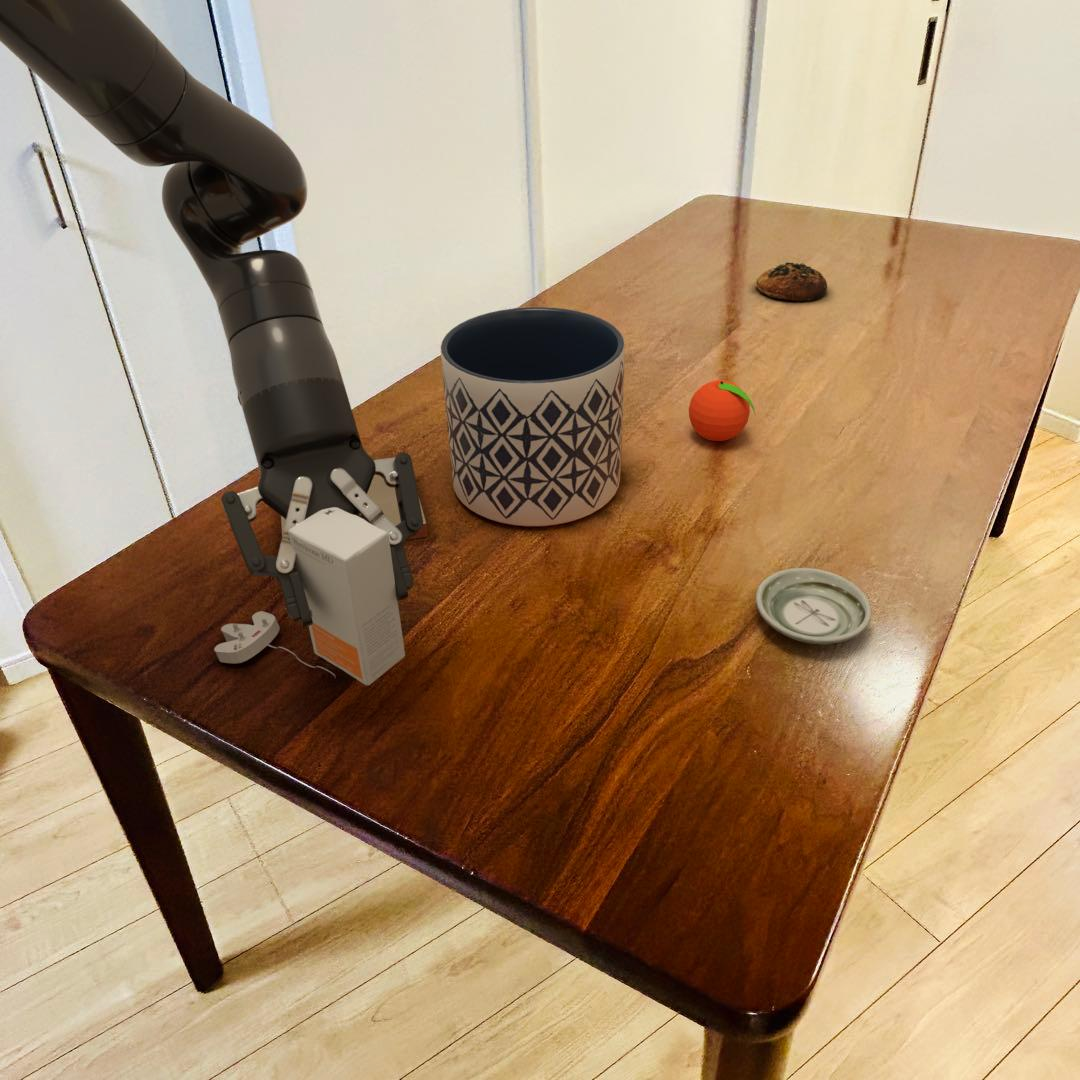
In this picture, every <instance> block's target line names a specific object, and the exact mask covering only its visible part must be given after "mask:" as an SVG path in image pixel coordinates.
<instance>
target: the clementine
mask: <svg viewBox="0 0 1080 1080" xmlns="http://www.w3.org/2000/svg"><path fill="white" fill-rule="evenodd" d="M751 408H752V411H753V413H754V415H756V411H755V406H754V404H753V402H752V399H751V398H750V397H749V395H748V394H747V393H746V392H745V391H744V390H743V388H741V387H740V386H738V385H737V384H735V383H733V382H731V381H729V380H725V379H717V380H712V381H708V382H707V383H704V384H703V385H701V386H700V387H699V388H698V389H697V390H696V391H695V392H694V393H693V395H692V396H691V398H690V402H689V406H688V419H689V421H690V422H689V423H690V424H691V427H692V428H693V430H695V432H696V433H697V434H698V435H699V436H701V437H703V438H704V439H707V440H708V441H712V442H724V441H728V440H731V439H733V438H735V437H737V436H738V435H739V434H740V433H742V431H743V430H744V429H745V427H746V426H747V424H748V421H749V418H750V414H751Z"/></svg>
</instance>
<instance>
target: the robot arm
mask: <svg viewBox="0 0 1080 1080" xmlns="http://www.w3.org/2000/svg"><path fill="white" fill-rule="evenodd" d="M0 43H1V44H2V45H4V46H5V47H6V48H7V49H8V50H9V51H10V52H11V53H12V54H14V56H16V57H17V58H18V59H19V60H20V61H21V62H22V63H24V65H25V66H27V67H28V68H29V70H31V71H32V72H33V73H34V74H35V75H36V76H37V77H38V78H40V79H41V81H42V82H44V83H45V84H46V85H47V86H48V87H49V88H50V89H51V90H52V91H54V93H56V94H57V96H59V97H60V98H61V99H62V100H63V101H64V102H65V103H67V104H68V105H69V106H70V107H71V108H72V109H73V110H74V111H75V112H76V113H77V114H78V115H80V116H81V117H82V118H83V119H84V120H85V121H87V123H89V124H90V125H91V126H92V127H93V128H94V129H95V130H96V131H97V132H99V133H100V134H101V135H102V136H103V137H104V138H105V139H107V140H108V141H109V142H110V144H112V145H113V146H114V147H115V148H116V149H118V150H119V151H120V152H121V153H123V155H125V156H126V157H127V158H129V159H130V160H131V161H133V162H135V163H136V164H139V165H142V166H144V167H150V168H151V167H152V168H155V167H156V168H161V167H166V166H170V165H172V166H171V167H170V168H169V169H168V170H167V172H166V173H165V176H164V178H163V182H162V187H161V202H162V208H163V211H164V213H165V216H166V218H167V219H168V222H169V223H170V225H171V227H172V229H173V230H174V232H175V233H176V234H177V236H178V238H179V239H180V241H181V243H182V244H183V245H184V247H185V248H186V250H187V252H188V253H189V255H190V256H191V258H192V259H193V261H194V264H195V265H196V267H197V269H198V270H199V272H200V274H201V276H202V278H203V279H204V281H205V283H206V285H207V286H208V288H209V290H210V292H211V294H212V296H213V298H214V300H215V303H216V306H217V312H218V315H219V317H220V320H221V324H222V327H223V332H224V335H225V338H226V342H227V346H228V350H229V355H230V361H231V369H232V377H233V380H234V384H235V387H236V391H237V401H238V403H239V405H240V406H241V409H242V412H243V417H244V419H245V423H246V427H247V430H248V434H249V437H250V440H251V445H252V448H253V451H254V455H255V458H256V462H257V465H258V469H259V474H260V475H259V480H258V483H257V486H255V487H252V488H249V489H246V490H243V491H239V492H236V491H234V490H228V491H225V492H224V493H222V496H221V504H222V507H223V511H224V514H225V516H226V518H227V521H228V523H229V526H230V529H231V531H232V534H233V536H234V540H235V542H236V543H237V547H238V548H239V551H240V554H241V556H242V558H243V559H242V560H243V561H244V564H245V566H246V568H247V570H248V573H249V574H250V575H251V576H252V577H272V578H274V579H275V580H277V582H278V585H279V587H280V590H281V591H280V592H281V594H282V598H283V601H284V603H285V608H286V612H287V616H288V617H289V618H290V620H291V621H292V623H293V622H297V621H300V625H301V628H303V629H304V628H306V627H309V626H310V625H312V624H313V621H312V617H311V613H310V609H309V606H308V602H307V599H306V595H305V592H304V588H303V585H302V581H301V578H300V574H299V572H297V570H296V567H295V559H296V554H297V553H296V552H295V550H294V549H293V548H292V546H291V543H290V538H289V534H288V530H289V529H291V528H292V527H294V526H295V525H297V524H298V523H300V522H302V521H304V520H305V519H307V518H308V517H310V516H312V515H313V514H315V513H317V512H318V511H320V510H323V509H327V508H332V507H337V508H340V509H342V510H344V511H346V512H348V513H350V514H353V515H356V516H358V517H360V518H362V519H364V520H366V521H367V522H368V523H370V524H372V525H374V526H376V527H378V528H380V529H382V530H384V531H386V532H388V535H389V542H390V550H391V557H392V564H393V572H394V579H395V586H396V593H397V600H398V602H399V601H404V600H406V599H407V598H408V597H409V592H408V591H409V590H411V589H412V588H413V587H414V586H413V585H414V578H413V574H412V570H411V567H410V564H409V560H408V557H407V554H406V550H405V542H406V541H409V540H408V539H409V538H411V537H413V536H415V535H416V534H417V533H418V531H419V530H420V529H421V527H422V526H423V518H422V513H421V507H420V503H421V501H420V502H419V499H420V496H419V493H418V487H417V481H416V476H415V470H414V467H413V460H412V457H411V455H410V454H409V453H408V452H405V451H402V452H399V453H397V454H396V455H395V457H386V458H377V459H374V458H373V457H372V456H370V455H369V453H368V452H367V451H366V449H365V448H364V446H363V444H362V440H361V437H360V433H359V430H358V427H357V423H356V420H355V416H354V414H353V409H352V406H351V403H350V399H349V397H348V393H347V390H346V386H345V383H344V379H343V376H342V372H341V369H340V366H339V362H338V358H337V355H336V354H335V350H334V348H333V346H332V344H331V341H330V339H329V337H328V335H327V333H326V330H325V327H324V323H323V320H322V317H321V314H320V310H319V306H318V303H317V300H316V296H315V293H314V291H313V287H312V283H311V280H310V277H309V274H308V272H307V270H306V267H305V266H304V264H303V262H302V261H301V260H300V259H299V258H298V257H297V256H295V255H294V254H292V253H290V252H288V251H284V250H280V249H279V250H278V249H260V250H252V251H245V252H243V250H242V247H243V245H245V244H247V243H249V242H251V241H253V240H255V239H257V238H259V237H261V236H263V235H266V234H267V233H269V232H271V231H273V230H275V229H277V228H280V227H282V226H284V225H286V224H288V223H290V222H292V221H293V220H294V219H296V218H297V217H298V216H299V215H300V214H302V212H303V210H304V208H305V206H306V203H307V200H308V181H307V177H306V174H305V171H304V168H303V166H302V164H301V162H300V160H299V158H298V157H297V155H296V154H295V152H294V151H293V150H292V148H291V147H290V146H289V145H288V144H287V143H286V142H285V141H284V139H282V137H281V136H280V135H278V134H277V133H276V132H275V131H274V130H273V129H271V128H270V127H268V126H267V125H266V124H265V123H263V122H262V121H260V120H259V119H258V118H255V117H254V116H253V115H252V114H249V113H248V112H246V111H244V109H241V108H240V107H238V106H237V105H236V104H233V103H232V102H231V101H229V100H227V99H226V98H225V97H223V96H221V95H220V94H219V93H218V92H216V91H215V90H213V89H211V88H210V87H208V86H206V85H205V84H203V83H202V82H201V81H199V80H198V79H196V78H195V77H194V76H193V75H192V74H191V73H190V72H189V71H188V70H187V69H186V68H185V67H184V65H183V64H182V63H181V62H180V61H179V59H178V58H177V57H175V55H173V53H172V52H171V51H170V50H169V48H167V47H166V46H165V44H163V42H162V41H161V40H160V39H159V37H157V36H156V35H155V33H154V32H153V31H152V30H151V29H150V28H149V27H148V26H147V25H146V24H145V23H144V22H143V21H142V19H140V18H139V16H137V14H136V13H134V11H133V10H132V9H130V7H129V6H128V5H127V4H125V2H123V0H0ZM374 475H379V476H381V477H382V478H383V479H384V482H385V484H386V485H387V486H389V487H392V488H393V487H395V492H396V498H397V503H398V509H399V514H400V520H401V523H399V524H398V525H396V526H395V525H394V524H393V523H392V522H391V521H390V520H389V519H388V518H387V517H386V516H385V515H384V514H383V511H382V510H381V509H380V507H379V506H378V505H377V504H376V503H375V502H374V501H373V500H372V499H371V498H370V497H369V496H368V495H367V493H368V490H369V488H370V485H371V482H372V480H373V477H374ZM418 496H419V497H418ZM261 502H263V503H264V504H265V505H267V506H268V507H269V508H270V509H272V510H273V511H274V512H276V513H277V514H279V516H280V517H281V516H282V517H283V518H285V519H286V522H285V527H284V531H283V535H282V534H281V541H280V544H279V548H278V553H277V556H274V555H273V556H272V555H264V554H263V551H262V549H261V546H260V544H259V541H258V539H257V536H256V534H255V532H254V529H253V527H252V524H251V522H254V521H255V520H256V519H257V517H258V510H257V508H258V507H257V506H258V505H259V504H260V503H261ZM365 505H366V506H365ZM360 514H361V515H360Z"/></svg>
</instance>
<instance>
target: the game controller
mask: <svg viewBox="0 0 1080 1080" xmlns="http://www.w3.org/2000/svg"><path fill="white" fill-rule="evenodd" d="M251 620H252V622H253V625H252V624H249V623H227V624H224V625H222V627H221V628H220V630H221V633H222V634H223V637H224V639H225V642H220V643H219V644H217V645H216V646H214V652H215V655H216V658H217V659H218V661H219V662H220V663H222V664H223V663H225V664H242V663H244V662H247V661H248V660H250V659H251V658H253V657H255V656H256V655H257V654H259V653H261V651H263V650H264V649H265V648H266V647H270V648H273V649H283V650H284V651H287V652H289V653H290V654H292V655H293V656H294V657H295V658H296V660H297V661H299V662H300V663H302V664H304V665H305V666H308V667H310V668H313V669H314V668H320V669H322V670H324V671H326V672H328V673H330V674H331V675H332V676H333V677H334V679H337V678H336V674H335V673H334V672H332V671H330V669H327V668H325V667H323V666H320V665H316V666H313V665H310V664H308V663H306V662H304V661H303V660H302V659H300V658H299V657H298V656H297V654H296V653H294V652H293V651H291V650H289V649H287V648H285V647H283V646H278V647H277V646H274V645H271V642H273V640H275V638H276V637H277V636H278V634H279V632H280V628H281V627H280V625H279V623H278V620H277V618H276V616H275V615H273V614H272V613H269V612H266V611H262V610H260V611H257V612H255V613H254V614H253V615H252V616H251Z"/></svg>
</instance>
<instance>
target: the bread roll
mask: <svg viewBox="0 0 1080 1080" xmlns="http://www.w3.org/2000/svg"><path fill="white" fill-rule="evenodd" d="M754 285H755V287H756V288H757V290H758V291H759V292H760V293H761V294H765V295H766V296H768V297H769V298H773V299H776V298H777V299H780V300H787V301H797V302H805V301H806V302H809V303H810V302H815V301H817V300H819V299H822V297H823V296H824V295H825V293H826V292H827V289H828V282H827V280H826V278H825V277H824V275H823V274H822V273H821V272H820V271H818V270H817V269H815V268H812V267H811V266H809V265H807V264H805V263H804V262H801V263H798V262H785V263H782V264H781V263H779V265H776V266H775V267H772V268H770V269H767V270H765V271H764V272H762V273H761V274H760V275H759V277H757V278H756V279H755V283H754Z"/></svg>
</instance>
